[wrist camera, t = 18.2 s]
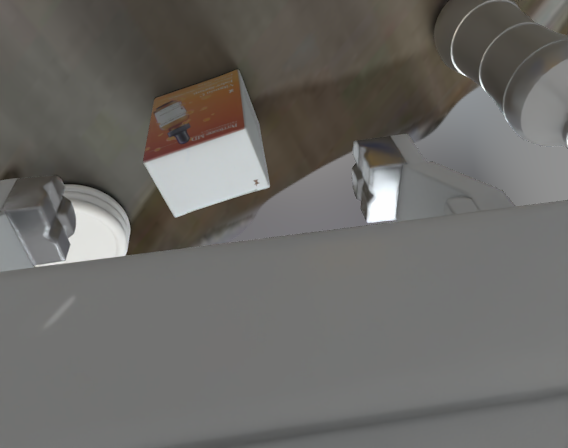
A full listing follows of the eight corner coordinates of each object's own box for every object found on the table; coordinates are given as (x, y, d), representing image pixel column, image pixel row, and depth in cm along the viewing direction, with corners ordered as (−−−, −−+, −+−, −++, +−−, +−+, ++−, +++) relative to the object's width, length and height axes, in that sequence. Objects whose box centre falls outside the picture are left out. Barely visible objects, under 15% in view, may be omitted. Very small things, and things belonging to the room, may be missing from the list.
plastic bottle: (511, -20, 40) (706, 76, 25) (485, 61, 44) (637, 187, 29) (437, -24, 39) (591, 75, 24) (417, 60, 43) (537, 189, 28)
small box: (239, 67, 42) (248, 125, 33) (259, 123, 45) (272, 188, 37) (151, 97, 42) (140, 162, 34) (178, 150, 46) (174, 220, 38)
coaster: (145, 204, 49) (142, 226, 46) (111, 269, 54) (106, 293, 51) (41, 166, 45) (31, 187, 42) (13, 240, 50) (3, 264, 47)
